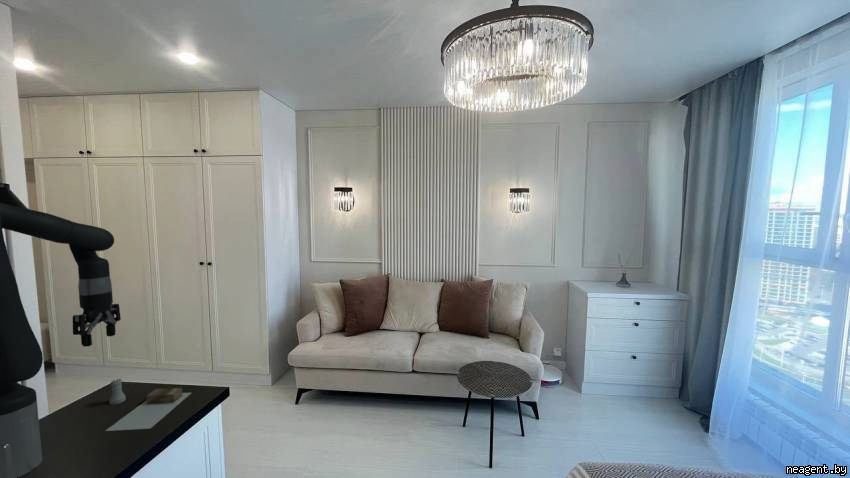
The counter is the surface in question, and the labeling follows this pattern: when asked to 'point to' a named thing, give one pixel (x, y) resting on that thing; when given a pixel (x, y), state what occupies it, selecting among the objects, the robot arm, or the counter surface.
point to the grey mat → (145, 415)
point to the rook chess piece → (117, 392)
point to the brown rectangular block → (164, 395)
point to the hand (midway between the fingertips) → (99, 340)
